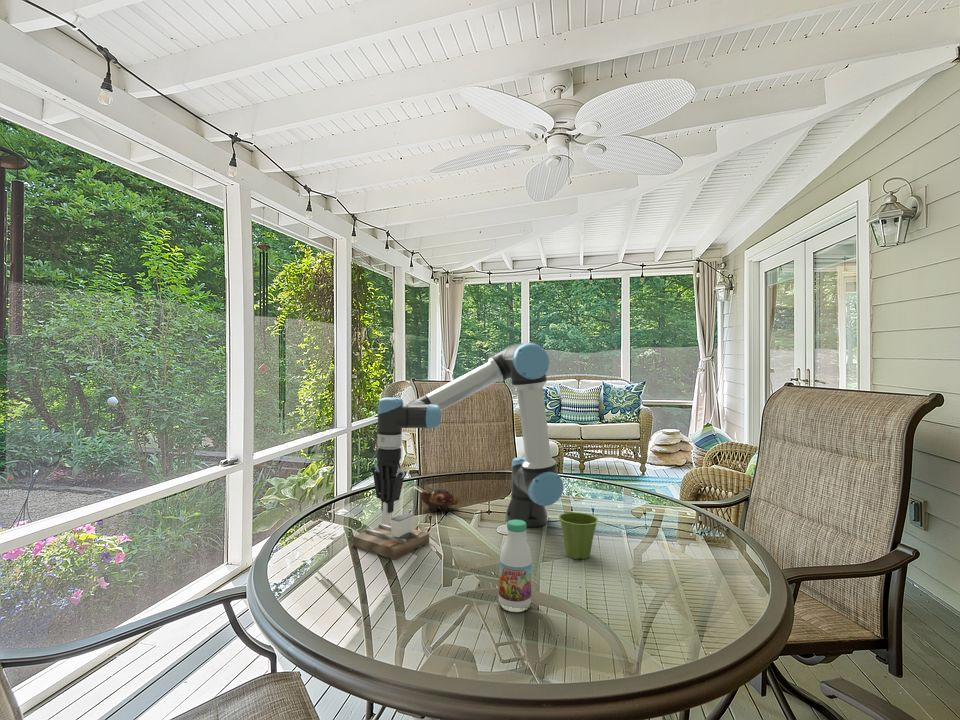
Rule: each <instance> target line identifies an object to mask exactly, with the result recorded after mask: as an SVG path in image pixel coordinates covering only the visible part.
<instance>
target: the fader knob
mask: <svg viewBox="0 0 960 720" xmlns="http://www.w3.org/2000/svg"><path fill="white" fill-rule="evenodd" d="M390 523H391V535H392V536H395V537H399V538H403V539H406V538H408V537H410V532H412V531H414V529H415V528H414V523H415V514H413V513H409V512H405V513H401V514H399V515H397V516H394V517H392V518H391V522H390Z"/></svg>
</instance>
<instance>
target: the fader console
mask: <svg viewBox="0 0 960 720" xmlns="http://www.w3.org/2000/svg"><path fill="white" fill-rule="evenodd" d="M352 537H353V538H352V540H353V541H352V547H354V546H355V547H354V548H357V547H358V549H361V550H364V551H366V552H370V553H373V554H376V555H380V556H383V557H386V558H388V559H392V560H398V558H400V557H403V556H405V555H407V554H409V553H411V552H414V551H415V550H417V549H419V548H420V547H419V546H421V547H423V546H422V545H424V544H426V545H427V543H428V544H429V543H430V533H429V532H426V531H422V530H418V529H415V528H414V531H412V532H410V537H408V538H406V539H403V538H399V537H395V536H392V535H391V522H389V523H387V524H385V523H378V526H377V527H374V528H372V529H371V528H366V529H365V531H364V532H362V533H358V534H356V535H354V536H352ZM424 546H425V545H424ZM418 547H419V548H418ZM416 548H417V549H416ZM414 549H415V550H414Z"/></svg>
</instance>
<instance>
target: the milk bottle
mask: <svg viewBox="0 0 960 720" xmlns="http://www.w3.org/2000/svg"><path fill="white" fill-rule="evenodd" d="M506 523H507V524H506V528H507V529H506V532H507V535H506V540H505V541H504V544H503V546H502V548H501V550H500V554H499V555H500V556H499V573H498V574H499V575H498V577H499V578H498V603H499V602H500V603H501V604H502V605H504V606H507V607H512V608H521V607H525V606H528V605H529V604H530V603H531V604H532V580H533V579H532V577H533V576H532V573H533V572H532V568H533V561H532V560H533V559H532V552H531V549H530V546H529V543H528V541H527V538H526V533H527V527H526V522H525V521H522V520H510V521H508V522H506Z"/></svg>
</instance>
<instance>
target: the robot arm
mask: <svg viewBox="0 0 960 720" xmlns="http://www.w3.org/2000/svg"><path fill="white" fill-rule="evenodd" d="M549 367H550V358H549V355H548V353H547V351H546V349H544V348H543V347H542V346H541V345H539V344H537V343H533V342H524V343H514V344H511V345H510V346H507V347H506V348H504V349H502V350H501V351H499V352H498V353H496V354H495V355H493V356H490V357H489V358H488V361H487V362H486V363H484V364H482V365H480V366H478V367H476V368H474V369H472V370H471V371H468V372H467V373H465V374H463V375H461V376H459V377H457V378H455V379H454V380H451V381H449V382H448V383H445V384H444V385H442V386H440V387H438V388H436V389H434V390H432V391H431V392H429V393H427V394H424V395H423V396H421V397H419V398H417V399H413V400H410V401H409V402H408V403H404V400H403V398H401V397H393V396H392V397H390V396H388V397H383V398H380V399H379V401H378V408H377V409H378V410H377V439H376V440H377V443H376V444H377V446H378V447H377V448H376V460H377V463H376V465H375V466H372V467H371V470H370V471H371V473H372V475H373V481H374V488H375V489H374V490H375V496H376V499H379V500H380V502H381V508H380V510H381V512H382V523H381V524H387V523H389V522H390V523H391V518H393V513H394V511H395V510H394V508H395V507H394V503H395V502H397V501H399V500H400V499H401V498H400V497H401V494H402V488H403V485H404V480H405V478H406V476H407V471H405V470H404V471H403V469H401V463H400V461H401V459H402V448H401V447H402V444H403V443H402V438H403V437H402V435H403V434H402V433H403V429H427V430H428V429H436V428H439V427H440V425H441V419H442V418H441V416H442V415H441V414H442V413H441V412H443V411H444V410H446V409H447V408H450V407H451V406H453V405H455V404H458V403H459V402H461V401H463V400H465V399H466V398H468V397H470V396H472V395H474V394H476V393H478V392H479V391H481V390H484V389H486V388H488V387H489V386H491V385H493V384H495V383H496V382H501V383H503V382H505V381H506V380H508V379H511V386H512V387H513V388H514V389H516V391H517V399H518V409H519V416H520V424H521V431H522V432H521V433H522V441H523V450H524V456H520V457H519V456H518V457H517V456H516V457H514V458H513V459H512V463H511V486H510V487H511V489H510V490H511V491H510V492H511V494H510V499H509V503H508V505H507V509H506V511H505V512H506V513H505V521H506V523H508V521H510V520H522V521H525V522H526V528H537V527H542V526H545V525H546V524H547V523H548V512H547V508H546V507H548V506H552V505H554V504H555V503H557V502H558V501H559V500H560V499H561V497H562V495H563V493H564V487H565V486H564V481H563V479H562V477H561V476H560V475H559V474H558V469H557V468H558V467H557V461H556V459H554V458H553V457H552V454H551V446H550V437H549V431H548V430H549V429H548V421H547V412H546V404H545V395H544V385H545V384H546V383H547V372H548V370H549Z"/></svg>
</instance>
